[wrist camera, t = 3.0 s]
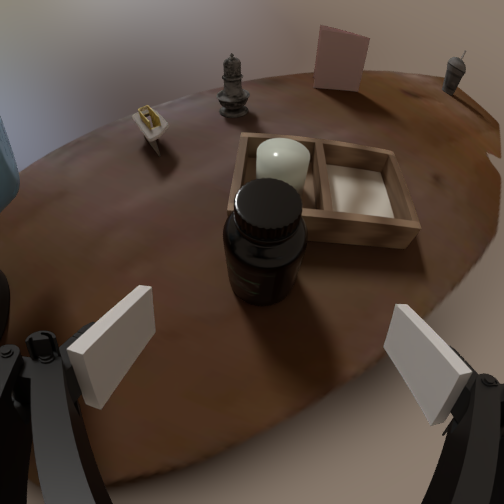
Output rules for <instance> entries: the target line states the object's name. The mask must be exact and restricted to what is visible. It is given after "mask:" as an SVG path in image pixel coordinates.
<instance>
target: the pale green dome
mask: <svg viewBox="0 0 504 504" xmlns="http://www.w3.org/2000/svg"><path fill="white" fill-rule="evenodd" d="M309 161H310V153H309V151H308V149H307V148H306V147H305V146H304V145H302V144H301V143H299V142H297V141H295V140H291V139H287V138H273V139H269V140H266V141H264V142H263V143H261V144H260V145H259V147H258V148H257V160H256V179H261V178H272V179H278V180H282V181H284V182H286V183H288V184H289V185H291V186H293V188H294V189H296V190H297V192H298V193H299V194H300V197H302V194H303V189H304V185H305V180H306V175H307V171H308V166H309Z"/></svg>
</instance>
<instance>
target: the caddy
mask: <svg viewBox="0 0 504 504" xmlns="http://www.w3.org/2000/svg"><path fill="white" fill-rule="evenodd" d="M273 138H287V139H291V140H295V141H297V142H299V143H301V144H302V145H304V146H305V147H306V148H307V149H308V151H309V153H310V161H309V166H308V171H307V175H306V180H305V185H304V189H303V194H302V197H301V199H302V204H303V207H302V215H301V216H302V218H303V219H304V221H305V223H306V226H307V230H308V241H316V242H328V243H340V244H352V245H364V246H375V247H386V248H397V249H406V248H407V246H408V245H409V244H410V243H411V241H412V240H413V239H414V238H415V236H416V235H417V234H418V233H419V231H420V230H421V226H420V223H419V219H418V216H417V213H416V210H415V207H414V204H413V201H412V198H411V196H410V193H409V190H408V187H407V185H406V182H405V179H404V177H403V174H402V172H401V169H400V167H399V164H398V162H397V160H396V157H395V155H394V153H393V151H389V150H384V149H379V148H374V147H369V146H363V145H358V144H352V143H346V142H339V141H332V140H325V139H317V138H309V137H299V136H289V135H277V134H263V133H243V132H241V137H240V142H239V147H238V152H237V158H236V163H235V168H234V174H233V179H232V185H231V190H230V196H229V202H228V208H227V215H228V216H229V215H230V214H231V212H232V211H233V210H234V199H235V195H236V193H238V190H239V189H240V188H241V187H242V186H243V185H245V184H246V183H247V182H250V181H251V180H256V160H257V148H258V147H259V145H260V144H261V143H263V142H264V141H266V140H269V139H273Z"/></svg>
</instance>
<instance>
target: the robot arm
mask: <svg viewBox="0 0 504 504" xmlns="http://www.w3.org/2000/svg"><path fill="white" fill-rule="evenodd" d="M19 185H20V179H19V173H18V168H17V165H16V161H15V158H14V155H13V151H12V148H11V145H10V142H9V139H8V136H7V133H6V131H5V127H4V125H3V122H2V119H1V117H0V213H1V212H2V210H3V209H4V208H5V207H6V206H7V205H8V204H9V203H10V202H11V201H12V200H13V199H14V198H15V197H16V195H17V193H18V190H19ZM8 309H9V286H8V282H7V279H6V276H5V275H4V273H3V272H2V271H1V270H0V339H1V336H2V334H3V331H4V328H5V324H6V320H7V316H8ZM154 333H155V321H154V310H153V297H152V287H149V286H141V285H139V286H138V287H137V288H135V289H134V290H133V291H132V292H131V293H129V294H128V295H127V296H126V297H125V298H123V299H122V300H121V301H120V302H119V303H118V304H116V305H115V306H114V307H113V308H112V309H111V310H110V311H108V312H107V313H106V314H105V315H104V316H103V317H102V318H100V319H99V320H98V321H97V322H96V323H95V322H92V323H89V324H87V325H85V326H83V327H82V328H81V329H80V330H79V331H77V333H75V334H74V335H73V336H72V337H71V338H69V339H68V340H67V341H66V342H65V343H64V344H63V345H61V346H60V347H58V344H57V340H56V337H55V334H53V333H52V332H50V331H38V332H35V333H33V334H31V335H29V336H28V337H27V339H26V341H25V342H26V345H27V348H28V351H29V354H30V357H31V358H30V357H23V356H22V355H21V353H20V350H19V348H18V347H17V346H16V345H12V344H11V345H5V346H4V345H3V346H2V347H0V504H27V481H28V469H29V460H30V452H31V445H32V439H33V443H34V451H35V458H36V465H37V470H38V476H39V481H40V485H41V490H42V494H43V498H44V502H45V504H113V503H112V501H111V499H110V497H109V494H108V492H107V490H106V487H105V485H104V482H103V480H102V477H101V475H100V472H99V469H98V467H97V464H96V461H95V458H94V455H93V452H92V449H91V446H90V443H89V440H88V436H87V433H86V429H85V425H84V422H83V418H82V414H81V409H80V405H79V403H78V400H77V399H78V398H79V397H80V395H81V394H82V396H83V399H84V401H85V403H86V404H87V405H89V406H92V407H95V408H97V409H100V410H101V409H102V408H103V406H104V405H105V403H106V402H107V400H108V399H109V397H110V396H111V394H112V393H113V391H114V390H115V389H116V387H117V386H118V384H119V383H120V381H121V380H122V378H123V377H124V376H125V374H126V373H127V371H128V370H129V368H130V367H131V366H132V364H133V363H134V361H135V360H136V358H137V357H138V356H139V354H140V353H141V351H142V350H143V349H144V347H145V346H146V344H147V343H148V342H149V340H150V339H151V337H152V336H153V335H154ZM384 349H385V350H386V352H387V353H388V355H389V356H390V358H391V360H392V361H393V363H394V364H395V366H396V368H397V369H398V371H399V372H400V374H401V376H402V377H403V379H404V381H405V382H406V384H407V386H408V387H409V389H410V391H411V392H412V394H413V396H414V397H415V399H416V401H417V402H418V404H419V406H420V408H421V410H422V411H423V413H424V415H425V417H426V418H427V420H428V422H429V424H430V425H431V426H432V425H436V424H440V423H443V422H444V421H445V420H446V418H447V417H448V415H449V413H450V412H451V414H452V415H453V419H452V421H451V422H450V424H449V425H448V426H447V428H446V429H445V431H444V432H443V434H442V435H443V436H444V435H445V433H446V432H447V436H446V440H445V443H444V446H443V449H442V453H441V455H440V458H439V461H438V464H437V467H436V470H435V472H434V475H433V478H432V480H431V482H430V485H429V487H428V490H427V492H426V494H425V497H424V499H423V501H422V503H421V504H504V384H499V382H498V380H497V379H496V378H494V377H493V376H491V375H489V374H479V375H478V374H477V372H476V371H475V370H474V369H473V368H472V367H471V366H470V365H469V364H468V363H467V362H466V361H464V358H463V357H462V356H460V354H459V353H458V352H457V351H456V350H455V349H454V348H452V347H451V346H449V345H447V344H446V343H445V342H444V341H443V340H442V339H441V338H440V337H439V336H438V335H437V334H436V333H435V331H434V330H432V329H431V327H430V326H429V325H427V324H426V322H425V321H424V320H423V319H422V318H420V317H419V316H418V315H417V314H416V313H415V312H414V311H413V310H412V309H411V308H410V307H409V306H408V305H407V304H396V305H395V309H394V312H393V316H392V320H391V323H390V327H389V330H388V334H387V337H386V340H385V343H384ZM11 395H12V397H11Z"/></svg>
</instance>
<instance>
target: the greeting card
mask: <svg viewBox="0 0 504 504" xmlns="http://www.w3.org/2000/svg"><path fill="white" fill-rule="evenodd" d="M369 40H370V38H367V37H364V36H361V35H358V34H354V33H351V32H347V31H343V30H340V29H336V28H332V27H328V26H323V25H320V32H319V39H318V47H317V55H316V62H315V69H314V76H313V78H315V81H314V88H324V89H337V90H347V91H356V92H358V89H359V85H360V80H361V76H362V72H363V68H364V63H365V59H366V55H367V50H368V45H369Z"/></svg>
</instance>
